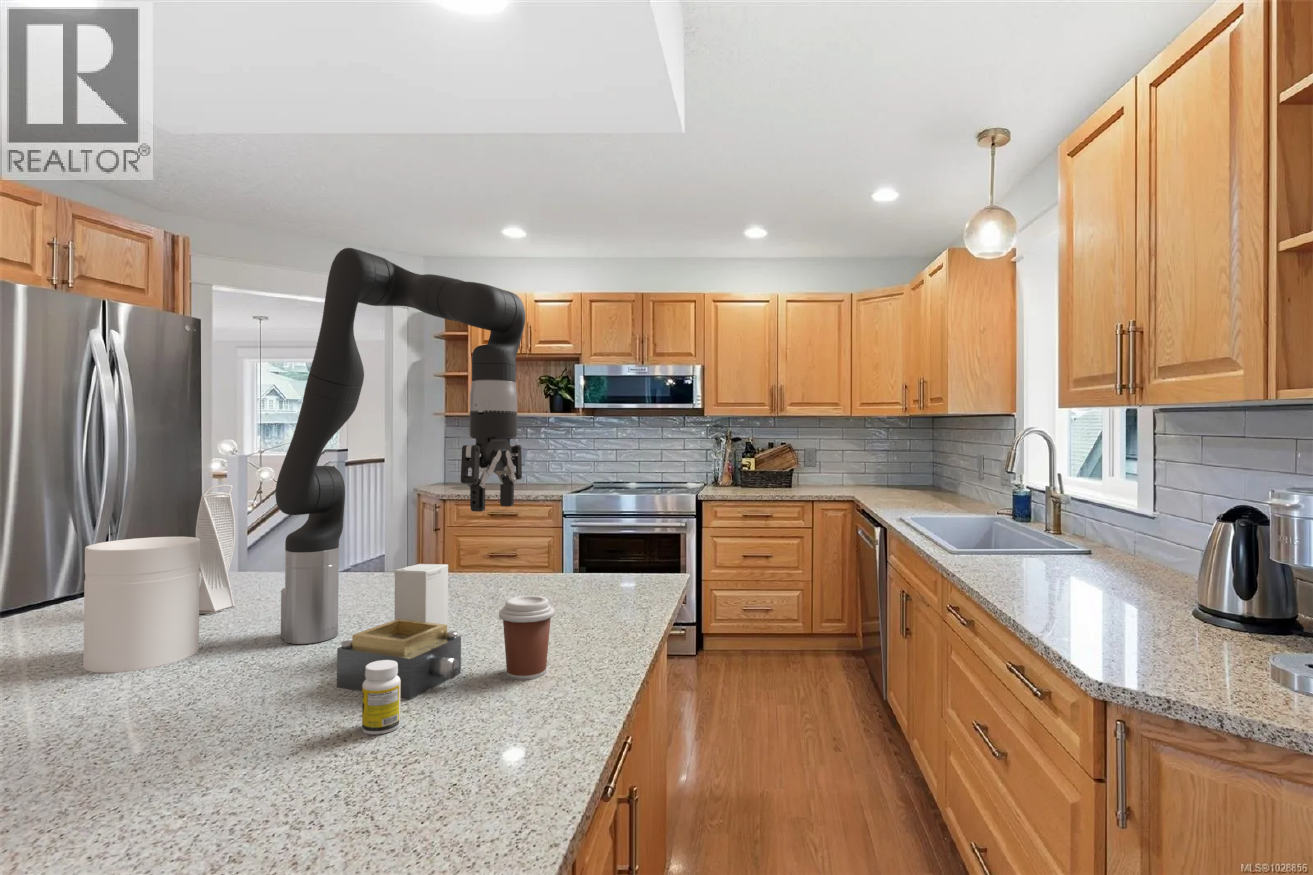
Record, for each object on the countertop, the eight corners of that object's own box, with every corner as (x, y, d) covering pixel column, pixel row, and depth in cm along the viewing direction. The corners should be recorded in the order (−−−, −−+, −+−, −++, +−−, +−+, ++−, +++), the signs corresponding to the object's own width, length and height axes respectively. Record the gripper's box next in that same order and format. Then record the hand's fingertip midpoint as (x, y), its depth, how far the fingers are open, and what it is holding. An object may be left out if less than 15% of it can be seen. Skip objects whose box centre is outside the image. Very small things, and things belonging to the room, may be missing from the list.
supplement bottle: (369, 720, 89) (370, 658, 89) (404, 719, 90) (405, 658, 90) (356, 736, 84) (356, 671, 84) (393, 735, 85) (394, 670, 85)
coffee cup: (506, 686, 102) (506, 609, 102) (492, 668, 110) (492, 597, 110) (561, 677, 106) (562, 603, 106) (544, 660, 114) (545, 591, 114)
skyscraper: (212, 604, 152) (213, 484, 152) (243, 606, 151) (245, 484, 151) (181, 613, 143) (182, 486, 144) (214, 615, 142) (215, 486, 143)
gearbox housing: (336, 687, 101) (337, 635, 101) (392, 662, 112) (393, 616, 113) (426, 702, 95) (427, 647, 95) (476, 675, 107) (476, 626, 107)
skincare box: (424, 662, 113) (425, 572, 113) (390, 659, 114) (391, 570, 114) (449, 647, 121) (450, 563, 121) (417, 645, 123) (418, 561, 123)
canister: (218, 650, 119) (220, 540, 119) (115, 678, 104) (117, 553, 104) (166, 638, 126) (168, 534, 126) (62, 664, 111) (64, 546, 111)
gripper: (497, 411, 115) (496, 504, 115) (447, 407, 101) (446, 512, 101) (535, 411, 113) (534, 505, 112) (489, 407, 99) (488, 514, 99)
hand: (492, 508), depth 107 cm, fingers open, 8 cm apart
